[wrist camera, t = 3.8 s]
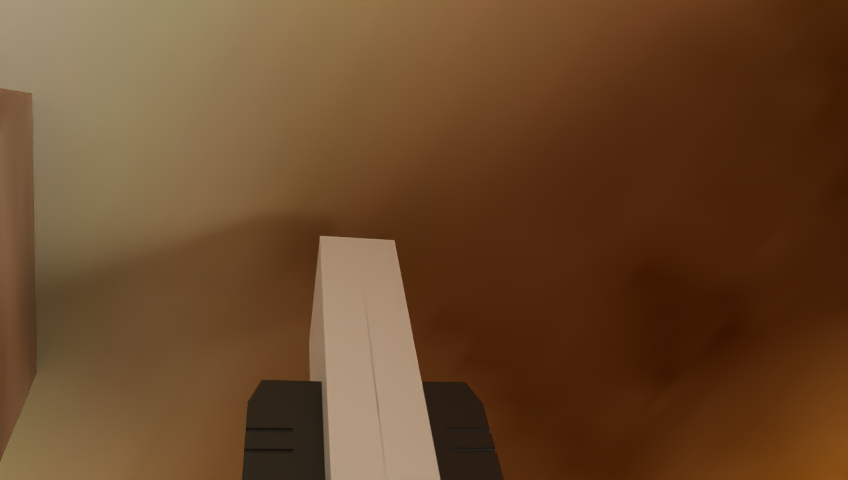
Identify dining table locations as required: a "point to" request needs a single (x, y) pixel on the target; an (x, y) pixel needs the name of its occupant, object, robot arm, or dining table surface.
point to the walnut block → (16, 258)
